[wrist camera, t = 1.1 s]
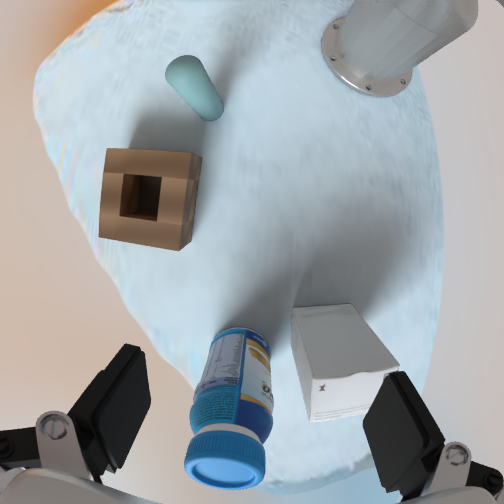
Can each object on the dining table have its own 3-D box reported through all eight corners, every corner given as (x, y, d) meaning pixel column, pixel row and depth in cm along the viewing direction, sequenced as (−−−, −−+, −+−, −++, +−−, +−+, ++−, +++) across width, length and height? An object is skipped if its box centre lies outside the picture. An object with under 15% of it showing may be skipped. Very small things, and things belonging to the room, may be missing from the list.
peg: (200, 97, 28) (170, 55, 17) (225, 99, 28) (206, 55, 17) (196, 120, 29) (161, 87, 17) (221, 122, 29) (198, 88, 17)
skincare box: (290, 344, 35) (303, 426, 21) (291, 303, 34) (308, 379, 19) (349, 339, 35) (387, 413, 20) (354, 300, 33) (403, 366, 19)
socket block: (126, 152, 30) (106, 148, 25) (202, 157, 30) (191, 152, 25) (118, 229, 32) (98, 237, 27) (190, 241, 32) (178, 251, 28)
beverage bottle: (216, 317, 35) (176, 439, 15) (279, 333, 35) (291, 461, 15) (204, 365, 37) (169, 481, 17) (261, 379, 37) (258, 499, 17)
